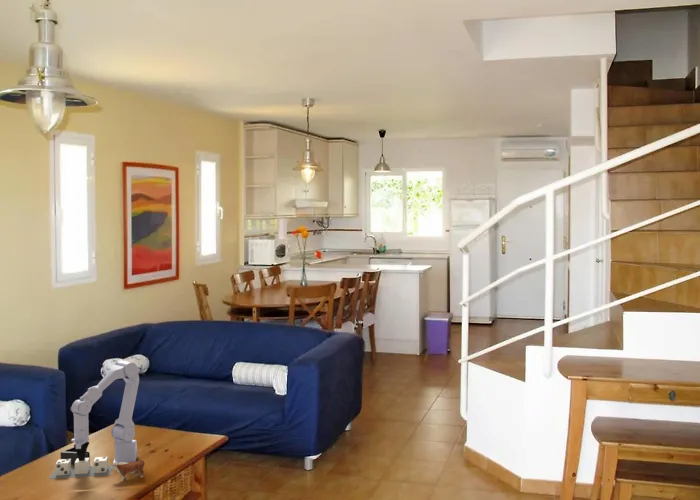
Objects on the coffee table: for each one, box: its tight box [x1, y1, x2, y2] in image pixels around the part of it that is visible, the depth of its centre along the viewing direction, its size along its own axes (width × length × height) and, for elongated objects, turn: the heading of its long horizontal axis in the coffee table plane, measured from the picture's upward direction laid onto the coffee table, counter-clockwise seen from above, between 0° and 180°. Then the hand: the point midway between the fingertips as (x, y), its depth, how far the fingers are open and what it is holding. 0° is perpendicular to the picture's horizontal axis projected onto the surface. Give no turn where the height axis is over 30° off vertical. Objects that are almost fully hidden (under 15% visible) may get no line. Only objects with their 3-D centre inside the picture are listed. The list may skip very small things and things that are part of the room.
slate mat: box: [48, 464, 113, 480], centre depth 305 cm, size 24×12×1 cm, turn 100°
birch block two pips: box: [93, 456, 109, 473], centre depth 306 cm, size 5×5×5 cm
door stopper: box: [60, 446, 91, 466], centre depth 315 cm, size 9×6×12 cm
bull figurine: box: [111, 459, 146, 482], centre depth 297 cm, size 4×13×8 cm, turn 114°
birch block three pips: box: [55, 458, 72, 475], centre depth 303 cm, size 5×5×5 cm
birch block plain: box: [74, 458, 91, 474], centre depth 305 cm, size 5×5×5 cm
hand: (81, 460), depth 305 cm, fingers closed, pressing on birch block plain
